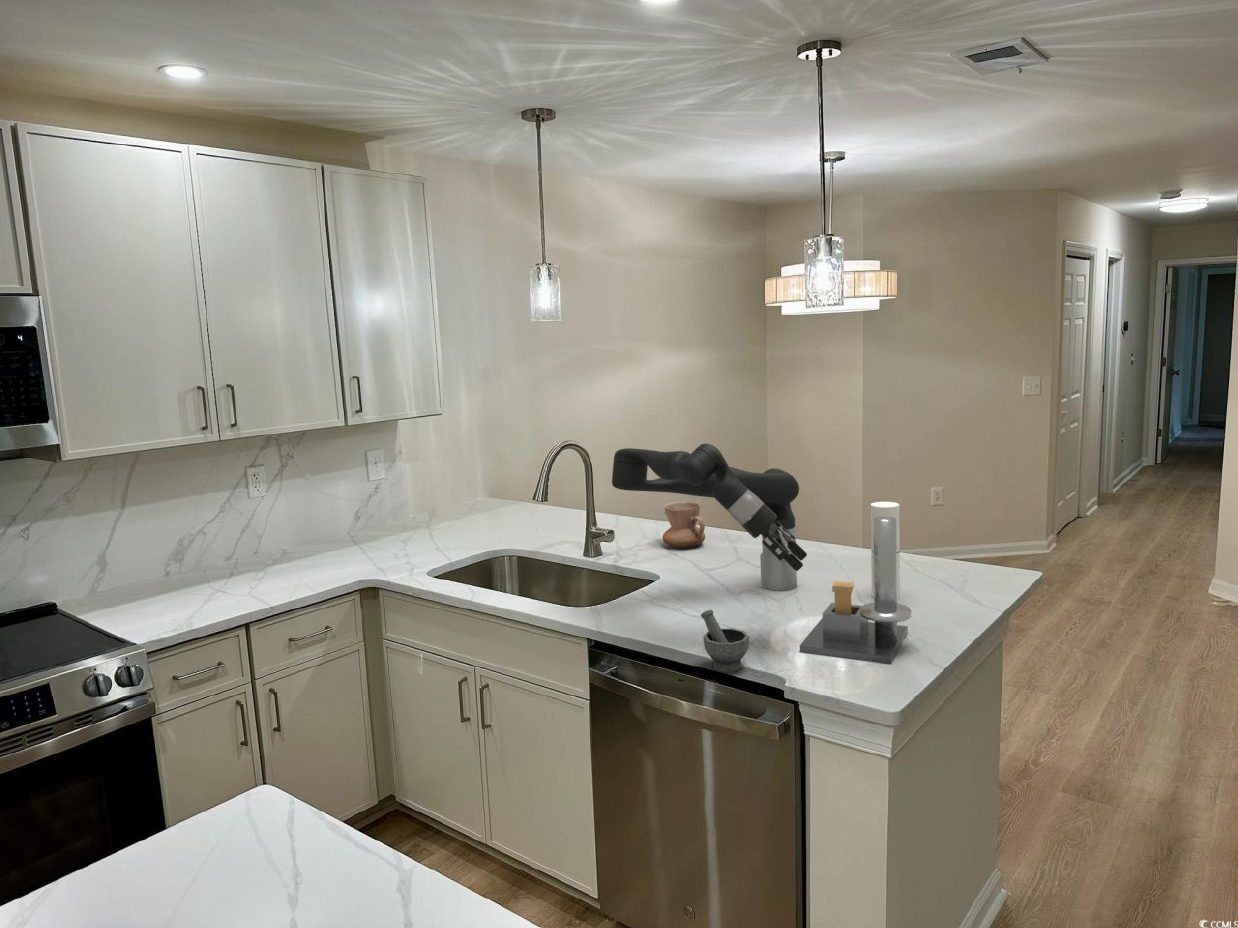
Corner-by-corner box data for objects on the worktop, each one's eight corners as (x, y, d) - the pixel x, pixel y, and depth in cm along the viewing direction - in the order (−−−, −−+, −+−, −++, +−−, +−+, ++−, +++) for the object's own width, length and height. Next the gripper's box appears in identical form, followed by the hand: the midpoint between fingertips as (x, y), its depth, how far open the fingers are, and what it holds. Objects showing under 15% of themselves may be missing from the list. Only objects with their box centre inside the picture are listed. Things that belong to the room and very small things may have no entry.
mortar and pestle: (758, 663, 188) (756, 611, 186) (733, 678, 181) (731, 624, 179) (716, 652, 196) (714, 602, 194) (691, 666, 189) (689, 614, 187)
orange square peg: (833, 635, 198) (832, 585, 196) (834, 630, 201) (833, 580, 199) (852, 637, 196) (852, 586, 194) (853, 631, 200) (853, 581, 198)
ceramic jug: (651, 545, 294) (649, 505, 291) (683, 537, 302) (681, 498, 300) (687, 554, 280) (685, 512, 277) (719, 546, 288) (717, 504, 286)
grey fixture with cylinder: (799, 651, 194) (796, 524, 189) (823, 622, 211) (820, 505, 206) (902, 665, 183) (902, 531, 178) (918, 633, 200) (918, 510, 195)
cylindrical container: (881, 602, 223) (880, 508, 219) (866, 594, 230) (865, 503, 226) (905, 598, 225) (904, 505, 221) (889, 590, 232) (889, 500, 228)
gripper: (746, 517, 208) (794, 564, 206) (735, 531, 194) (787, 582, 193) (767, 496, 205) (817, 544, 203) (757, 509, 192) (810, 560, 190)
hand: (802, 562), depth 198 cm, fingers open, 8 cm apart
